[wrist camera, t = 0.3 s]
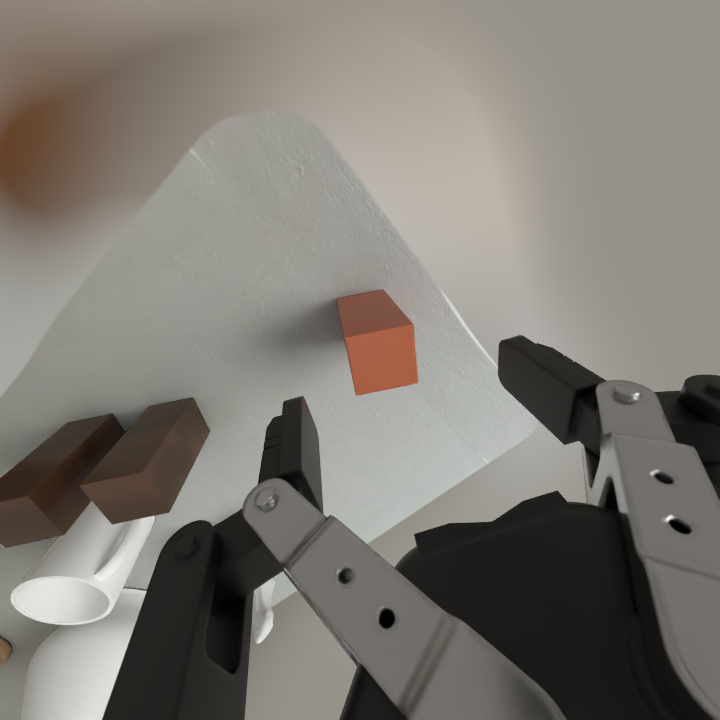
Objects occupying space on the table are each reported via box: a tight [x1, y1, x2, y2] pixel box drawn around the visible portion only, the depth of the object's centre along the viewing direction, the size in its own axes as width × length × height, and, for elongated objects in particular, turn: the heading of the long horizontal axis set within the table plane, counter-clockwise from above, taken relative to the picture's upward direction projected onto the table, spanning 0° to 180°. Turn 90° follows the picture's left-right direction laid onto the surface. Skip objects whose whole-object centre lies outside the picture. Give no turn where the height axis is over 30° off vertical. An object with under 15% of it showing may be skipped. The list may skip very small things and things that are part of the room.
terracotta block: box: [336, 290, 418, 395], centre depth 27 cm, size 5×5×11 cm
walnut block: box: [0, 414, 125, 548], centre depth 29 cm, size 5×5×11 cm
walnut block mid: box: [79, 398, 210, 525], centre depth 30 cm, size 5×5×11 cm
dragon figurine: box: [252, 579, 275, 644], centre depth 38 cm, size 12×18×13 cm
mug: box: [11, 501, 156, 625], centre depth 35 cm, size 11×9×10 cm
